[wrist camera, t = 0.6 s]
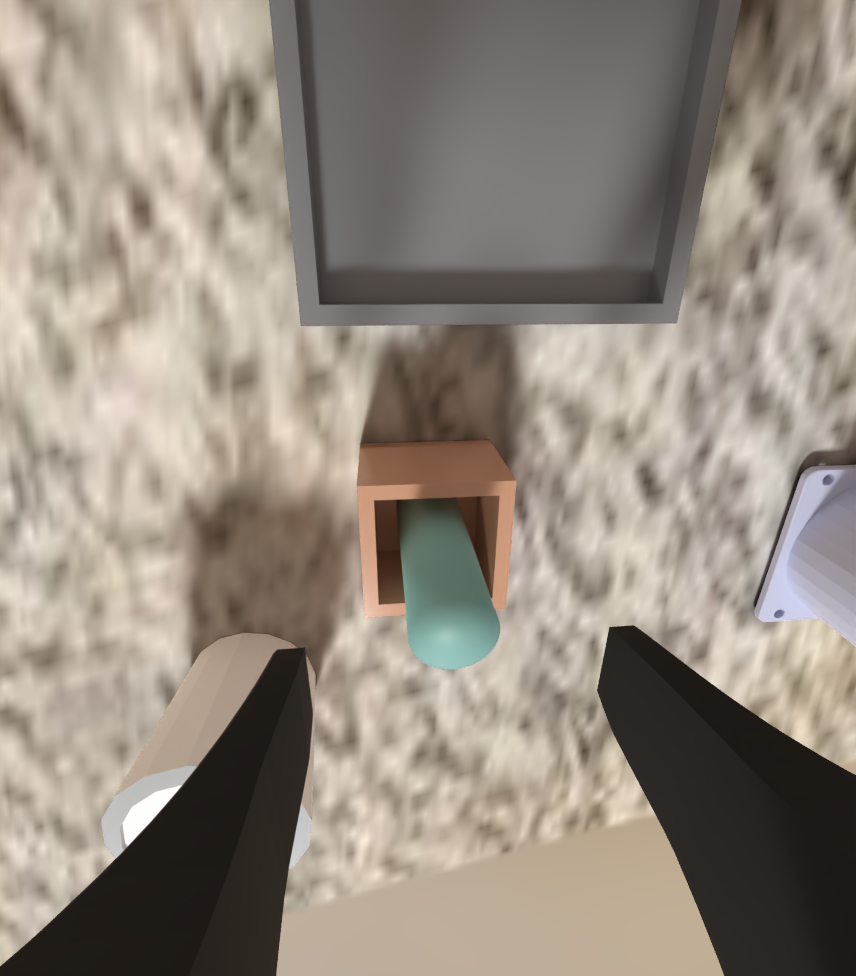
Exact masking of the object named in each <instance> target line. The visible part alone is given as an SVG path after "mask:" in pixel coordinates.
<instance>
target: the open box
mask: <svg viewBox="0 0 856 976" xmlns="http://www.w3.org/2000/svg"><path fill="white" fill-rule="evenodd" d="M515 491H516V479H515V478H514V476H513V475H512V473H511V472H510V470H509V469H508V467H507V466H506V464H505V462H504V461H503V459H502V458H501V456H500V455H499V453H498V452H497V450H496V449H495V447H494V446H493V444H492V443H491V441H490V440H465V441H430V442H395V443H360V453H359V466H358V478H357V497H358V514H359V530H360V547H361V563H362V579H363V596H364V612H365V617H378V616H394V615H406V607H405V596H404V585H403V574H402V563H401V551H400V540H399V529H398V518H397V500H399V499H425V498H450V497H456V499H457V502H458V505H459V508H460V510H461V513H462V516H463V519H464V522H465V525H466V528H467V531H468V533H469V536H470V539H471V542H472V545H473V548H474V551H475V554H476V557H477V559H478V562H479V565H480V568H481V571H482V574H483V577H484V580H485V582H486V585H487V588H488V591H489V594H490V597H491V600H492V603H493V606H494V608H495V609H506V597H507V586H508V574H509V562H510V550H511V538H512V526H513V515H514V503H515Z"/></svg>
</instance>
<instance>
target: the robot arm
mask: <svg viewBox="0 0 856 976" xmlns="http://www.w3.org/2000/svg"><path fill="white" fill-rule="evenodd" d="M825 476H826V478H825V479H824V477H825ZM823 479H824V480H823ZM754 614H755V616H756V617H757V618H758V619H759V620H761V621H762V622H774V621H789V620H805V619H821V620H823V621H824V622H825V623H826V624H828V625H829V626H830V627H831V628H833V629H834V630H835V631H836V632H838V633H839V634H840V635H841V636H843V637H844V638H845V639H847V640H848V641H849V642H850V643H852V644H853V645H854V646H855V647H856V465H834V466H813V467H810V468H808V469H806V470H805V471H804V472H803V473H802V475H801V477H800V479H799V482H798V485H797V488H796V491H795V494H794V497H793V500H792V503H791V506H790V509H789V512H788V515H787V517H786V520H785V523H784V526H783V529H782V532H781V535H780V538H779V541H778V544H777V547H776V550H775V553H774V556H773V558H772V561H771V564H770V567H769V570H768V573H767V576H766V579H765V582H764V585H763V588H762V591H761V594H760V597H759V599H758V602H757V605H756V608H755V613H754ZM597 692H598V694H599V697H600V700H601V703H602V705H603V708H604V711H605V714H606V716H607V719H608V721H609V724H610V726H611V729H612V731H613V734H614V736H615V738H616V740H617V742H618V744H619V745H620V747H621V749H622V751H623V753H624V755H625V757H626V759H627V761H628V763H629V765H630V767H631V769H632V771H633V772H634V774H635V776H636V778H637V780H638V782H639V784H640V786H641V788H642V790H643V791H644V793H645V795H646V797H647V799H648V801H649V803H650V805H651V807H652V809H653V810H654V812H655V814H656V816H657V818H658V820H659V822H660V824H661V826H662V827H663V829H664V831H665V833H666V836H667V838H668V840H669V842H670V844H671V846H672V848H673V850H674V852H675V854H676V857H677V859H678V861H679V864H680V866H681V869H682V871H683V873H684V876H685V878H686V880H687V883H688V885H689V888H690V890H691V892H692V895H693V897H694V900H695V902H696V904H697V907H698V909H699V912H700V914H701V917H702V920H703V922H704V925H705V927H706V930H707V932H708V935H709V937H710V940H711V942H712V945H713V947H714V950H715V952H716V955H717V957H718V960H719V963H720V965H721V968H722V970H723V973H724V976H856V775H854V774H852V773H851V772H849V771H847V770H845V769H843V768H842V767H840V766H838V765H836V764H834V763H833V762H831V761H829V760H827V759H826V758H824V757H822V756H820V755H819V754H817V753H815V752H814V751H812V750H810V749H809V748H807V747H805V746H804V745H802V744H800V743H799V742H797V741H796V740H794V739H792V738H791V737H789V736H787V735H786V734H784V733H782V732H781V731H779V730H778V729H776V728H775V727H773V726H772V725H770V724H768V723H767V722H765V721H764V720H762V719H761V718H760V717H758V716H757V715H755V714H754V713H752V712H751V711H749V710H748V709H746V708H745V707H743V706H742V705H740V704H739V703H737V702H736V701H735V700H733V699H732V698H730V697H729V696H728V695H726V694H725V693H723V692H722V691H721V690H719V689H718V688H716V687H715V686H714V685H712V684H711V683H710V682H708V681H707V680H706V679H704V678H703V677H702V676H700V675H699V674H698V673H696V672H695V671H694V670H692V669H691V668H690V667H688V666H687V665H686V664H684V663H683V662H682V661H680V660H679V659H678V658H676V657H675V656H674V655H673V654H671V653H670V652H669V651H667V650H666V649H665V648H663V647H662V646H661V645H660V644H658V643H657V642H656V641H654V640H653V639H652V638H650V637H649V636H648V635H646V634H645V633H644V632H642V631H641V630H639V629H638V628H637V627H635V626H619V627H609V632H608V637H607V643H606V648H605V653H604V658H603V663H602V668H601V673H600V678H599V684H598V689H597ZM312 722H313V708H312V700H311V692H310V684H309V676H308V668H307V660H306V653H305V648H290V649H277V650H276V651H275V652H274V653H273V655H272V656H271V658H270V660H269V662H268V663H267V665H266V667H265V669H264V670H263V672H262V674H261V675H260V677H259V679H258V680H257V682H256V684H255V685H254V687H253V688H252V690H251V691H250V693H249V695H248V696H247V698H246V699H245V701H244V702H243V704H242V705H241V707H240V708H239V710H238V711H237V713H236V714H235V715H234V717H233V718H232V720H231V721H230V723H229V724H228V726H227V727H226V729H225V730H224V731H223V733H222V734H221V736H220V737H219V738H218V740H217V741H216V742H215V744H214V745H213V746H212V748H211V749H210V750H209V752H208V753H207V754H206V756H205V757H204V758H203V759H202V761H201V762H200V763H199V765H198V766H197V767H196V769H195V770H194V771H193V772H192V774H191V775H190V776H189V777H188V779H187V780H186V781H185V782H184V784H183V785H182V786H181V787H180V788H179V790H178V791H177V792H176V793H175V794H174V796H173V797H172V798H171V799H170V800H169V801H168V803H167V804H166V805H165V806H164V807H163V808H162V809H161V811H160V812H159V813H158V814H157V815H156V816H155V817H154V819H153V820H152V821H151V822H150V823H149V824H148V825H147V826H146V827H145V828H144V829H143V830H142V831H141V833H140V834H139V835H138V836H137V837H136V838H135V839H134V840H133V841H132V842H131V843H130V844H129V845H128V846H127V848H126V849H125V850H124V851H123V852H122V853H121V854H120V855H119V856H118V857H117V858H116V859H115V860H114V861H113V862H112V863H111V864H110V865H109V866H108V867H107V868H106V869H105V870H104V871H103V872H102V873H101V874H100V875H99V876H98V877H97V878H96V879H95V880H94V881H93V882H92V883H91V884H90V885H89V886H88V887H87V888H86V889H85V890H83V891H82V892H81V893H80V894H79V895H78V896H77V897H76V898H75V899H74V900H73V901H72V902H71V903H70V904H69V905H68V906H67V907H66V908H65V909H63V910H62V911H61V912H60V913H59V914H58V915H57V916H56V917H55V918H54V919H53V920H52V921H51V922H50V923H49V924H48V925H47V926H46V927H45V928H43V929H42V930H41V931H40V932H39V933H38V934H37V935H36V936H35V937H33V938H32V939H31V940H30V941H29V942H28V943H27V944H26V945H25V946H23V947H22V948H21V949H20V950H19V951H18V952H16V953H15V954H14V955H13V956H12V957H11V958H9V959H8V960H7V961H6V962H5V963H4V964H2V965H1V966H0V976H276V970H277V961H278V951H279V941H280V932H281V923H282V914H283V904H284V896H285V889H286V883H287V876H288V870H289V865H290V859H291V854H292V849H293V844H294V838H295V833H296V828H297V823H298V817H299V812H300V807H301V802H302V796H303V791H304V786H305V780H306V775H307V769H308V764H309V758H310V746H311V735H312Z"/></svg>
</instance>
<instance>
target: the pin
mask: <svg viewBox="0 0 856 976" xmlns="http://www.w3.org/2000/svg"><path fill="white" fill-rule="evenodd" d="M397 518H398V529H399V540H400V551H401V563H402V574H403V585H404V596H405V607H406V619H407V630H408V641H409V645H410V648H411V650H412V652H413V653H414V654H415V656H416V657H417V658H418V659H420V660H421V661H422V662H424V663H425V664H427V665H430V666H432V667H435V668H440V669H459V668H463V667H467V666H470V665H472V664H475V663H476V662H478V661H480V660H481V659H483V658H484V657H486V656H487V655H488V654H489V653H490V652H491V650H492V649H493V648H494V646H495V645H496V643H497V641H498V638H499V633H500V624H499V620H498V617H497V614H496V611H495V608H494V606H493V603H492V600H491V597H490V594H489V591H488V588H487V585H486V582H485V580H484V577H483V574H482V571H481V568H480V565H479V562H478V559H477V557H476V554H475V551H474V548H473V545H472V542H471V539H470V536H469V533H468V531H467V528H466V525H465V522H464V519H463V516H462V513H461V510H460V508H459V505H458V502H457V499H456V497H450V498H425V499H399V500H397Z"/></svg>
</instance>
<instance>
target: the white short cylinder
mask: <svg viewBox="0 0 856 976" xmlns="http://www.w3.org/2000/svg"><path fill="white" fill-rule="evenodd" d="M290 648H297V647H296V646H294V645H293V644H292V643H290V642H288V641H285V640H282V639H280V638H277V637H275V636H272V635H269V634H256V633H240V634H236V635H232V636H228V637H224V638H220V639H218V640H217V641H215V642H214V643H212V644H211V645H210V646H208V647H207V648H205V649H204V650H202V651H201V652H200V654H199V656H198V657H197V659H196V661H195V662H194V664H193V666H192V667H191V669H190V671H189V672H188V674H187V676H186V677H185V679H184V681H183V683H182V684H181V686H180V688H179V689H178V691H177V693H176V694H175V696H174V698H173V699H172V701H171V703H170V704H169V706H168V708H167V709H166V711H165V713H164V714H163V716H162V718H161V719H160V721H159V723H158V724H157V726H156V728H155V730H154V731H153V733H152V735H151V736H150V738H149V740H148V741H147V743H146V745H145V746H144V748H143V750H142V751H141V753H140V755H139V756H138V758H137V760H136V761H135V763H134V765H133V766H132V768H131V770H130V771H129V773H128V775H127V777H126V778H125V780H124V782H123V783H122V785H121V787H120V788H119V790H118V792H117V793H116V795H115V797H114V799H113V800H112V802H111V804H110V806H109V808H108V809H107V811H106V813H105V815H104V817H103V819H102V820H101V823H102V830H103V836H104V842H105V847H106V848H107V849H108V850H109V852H110V853H111V854H112V855H113V856H114V857H115V858H117V857H118V856H119V855H120V854H121V853H122V852H123V851H124V850H125V849H126V848H127V846H128V845H129V844H130V843H131V842H132V841H133V840H134V839H135V838H136V837H137V836H138V835H139V834H140V833H141V831H142V830H143V829H144V828H145V827H146V826H147V825H148V824H149V823H150V822H151V821H152V820H153V819H154V817H155V816H156V815H157V814H158V813H159V812H160V811H161V809H162V808H163V807H164V806H165V805H166V804H167V803H168V801H169V800H170V799H171V798H172V797H173V796H174V794H175V793H176V792H177V791H178V790H179V788H180V787H181V786H182V785H183V784H184V782H185V781H186V780H187V779H188V777H189V776H190V775H191V774H192V772H193V771H194V770H195V769H196V767H197V766H198V765H199V763H200V762H201V761H202V759H203V758H204V757H205V756H206V754H207V753H208V752H209V750H210V749H211V748H212V746H213V745H214V744H215V742H216V741H217V740H218V738H219V737H220V736H221V734H222V733H223V731H224V730H225V729H226V727H227V726H228V724H229V723H230V721H231V720H232V718H233V717H234V715H235V714H236V713H237V711H238V710H239V708H240V707H241V705H242V704H243V702H244V701H245V699H246V698H247V696H248V695H249V693H250V691H251V690H252V688H253V687H254V685H255V684H256V682H257V680H258V679H259V677H260V675H261V674H262V672H263V670H264V669H265V667H266V665H267V663H268V662H269V660H270V658H271V656H272V655H273V653H274V652H275V651H276V650H277V649H290ZM306 660H307V668H308V676H309V684H310V692H311V700H312V708H313V722H312V735H311V746H310V758H309V764H308V769H307V775H306V780H305V786H304V791H303V796H302V802H301V807H300V812H299V817H298V823H297V828H296V833H295V838H294V844H293V849H292V854H291V859H290V865H289V869H290V868H292V867H293V866H294V865H295V864H296V862H297V861H298V860H299V859H300V857H301V856H302V855H303V853H304V852H305V851H306V850H307V848H308V847H309V846H310V837H311V827H312V805H313V762H314V720H315V678H316V674H315V672H314V670H313V667H312V665H311V663H310V661H309V658H308V657H307V656H306Z"/></svg>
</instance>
